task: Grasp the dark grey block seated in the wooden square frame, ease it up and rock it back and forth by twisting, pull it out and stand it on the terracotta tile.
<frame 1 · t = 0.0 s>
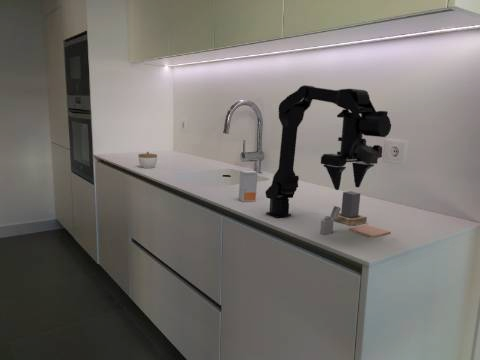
hand: (347, 188, 116), 15 cm above the worktop, fingers open, 9 cm apart
tile: (369, 231, 125), on the worktop
wooden square frame: (349, 221, 136), on the worktop
skincare box: (247, 201, 162), on the worktop
dark grey block: (350, 207, 136), in the wooden square frame
lidded jar: (147, 168, 237), on the worktop
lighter: (329, 233, 123), on the worktop
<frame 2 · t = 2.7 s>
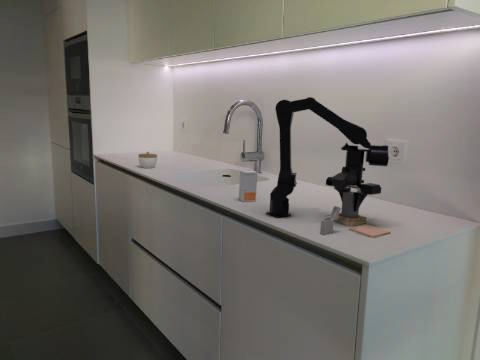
hand: (350, 210, 136), 4 cm above the worktop, fingers closed on dark grey block, 4 cm apart
dark grey block: (350, 207, 136), in the wooden square frame, touching gripper
everything else where it was.
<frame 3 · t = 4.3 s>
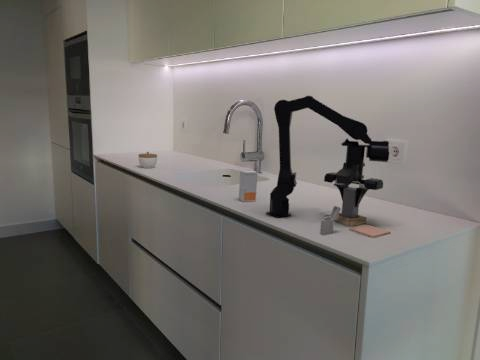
hand: (350, 205, 136), 5 cm above the worktop, fingers closed on dark grey block, 4 cm apart
dark grey block: (350, 203, 135), point 6 cm above the worktop, touching gripper
everything else where it was.
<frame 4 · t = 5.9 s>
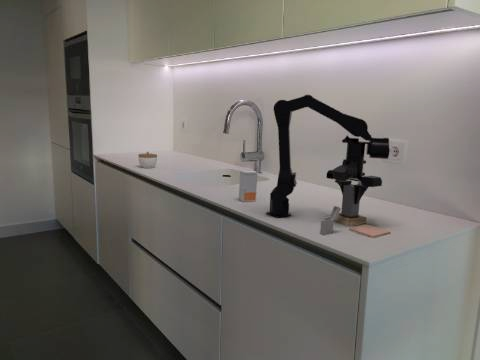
hand: (350, 203, 135), 6 cm above the worktop, fingers closed on dark grey block, 4 cm apart
dark grey block: (351, 200, 135), point 7 cm above the worktop, touching gripper
everything else where it was.
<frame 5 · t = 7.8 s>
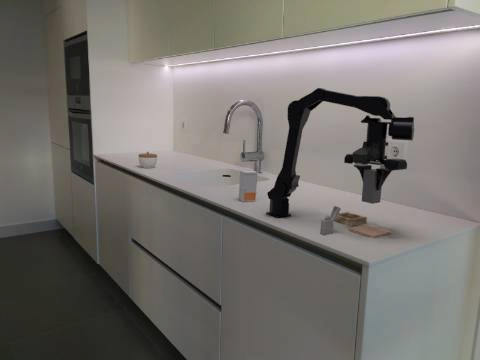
hand: (371, 189, 124), 13 cm above the worktop, fingers closed on dark grey block, 4 cm apart
dark grey block: (372, 186, 124), point 14 cm above the worktop, touching gripper
everything else where it was.
when the fingers open (6 cm above the worktop, at t = 9.6 s): dark grey block drops 1 cm, resting on tile.
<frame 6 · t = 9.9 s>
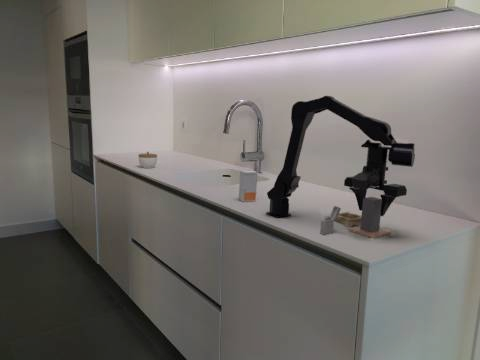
hand: (371, 213, 124), 6 cm above the worktop, fingers open, 7 cm apart
dark grey block: (371, 214, 125), on the tile, point 6 cm above the worktop
everything else where it was.
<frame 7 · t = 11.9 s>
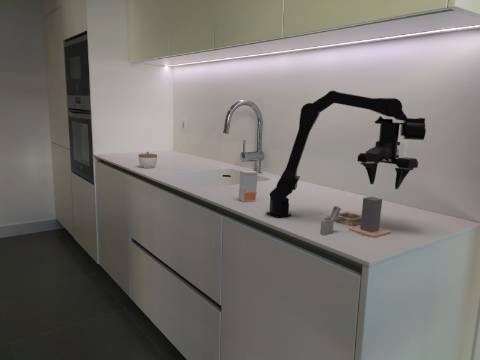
hand: (383, 186, 131), 13 cm above the worktop, fingers open, 9 cm apart
nothing on the worktop moved.
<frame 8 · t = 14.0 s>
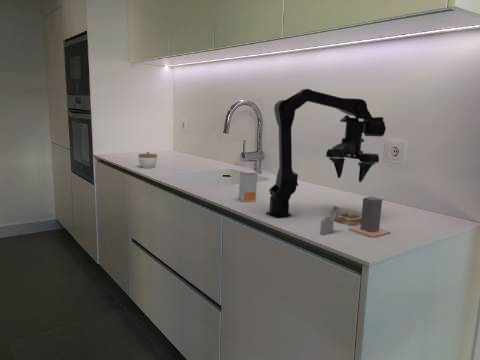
hand: (349, 179, 143), 13 cm above the worktop, fingers open, 9 cm apart
nothing on the worktop moved.
at the end: dark grey block inside the target area on the tile (0.1 cm from its centre), point 5.6 cm above the tile's base; dark grey block tilted 0°; the gripper is holding nothing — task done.
